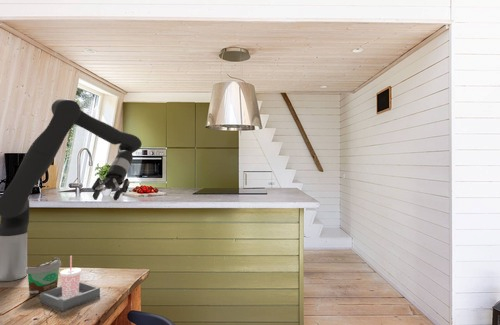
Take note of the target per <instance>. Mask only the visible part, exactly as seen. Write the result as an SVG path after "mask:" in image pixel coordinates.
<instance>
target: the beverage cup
mask: <svg viewBox="0 0 500 325" xmlns="http://www.w3.org/2000/svg"><path fill="white" fill-rule="evenodd" d="M72 263H73V255H70V256H69V268H65V269H63V270H60V271H59V273H60V274H59V275H60V277H61V278H60V279H61V286H62V299H63V300H66V299H69V298H72V297H74V296H77V295H78V294H79V282H80V281H81V280H80V279H81V274H82V268H80V267H73V264H72Z"/></svg>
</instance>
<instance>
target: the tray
mask: <svg viewBox="0 0 500 325" xmlns="http://www.w3.org/2000/svg"><path fill="white" fill-rule="evenodd" d="M100 297H101V287H99V286H96V285H92V284H91V283H86V282H83V281H81V280H80V282H79V294H78V295H77V296H74V297H72V298H69V299H66V300H63V299H62V285H60V286H57V288H54V289H51V290H48V291H45V292H42V293H40V295H39V302H40V303H41V304H44V305H46V306H48V307H51V308H53V309H55V310H58V311H61V312H65V311H67V310H70V309H72V308H75V307H78V306H80V305H83V304H85V303H87V302H88V303H89V301H92V300H94V299H95V300H96V299H98V298H100Z"/></svg>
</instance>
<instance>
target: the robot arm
mask: <svg viewBox="0 0 500 325" xmlns="http://www.w3.org/2000/svg"><path fill="white" fill-rule="evenodd" d="M51 112H52V113H51V114H52V117H51V119H50V121H49V122H48V125H47V126H46V128H44V130H43V131H42V132H41V133H40V135H38V136H37V138H36V139H35V140H34V141H32V144H31V145H30V147H28V150H27V151H26V154H25V155H24V157H23V159H22V160H21V163H20V165H19V167H17V170H16V173H15V175H14V177H13V179H12V180H11V182H10V183H9V185H8V186H7V188H6V189H5V190H4V192H3V193H2V194H1V196H0V282H11V281H12V282H13V281H16V280H20V279H23V278H25V277H26V276H28V274H26V271H27V267H28V228H29V223H30V200H29V197H30V194H31V192H32V191H33V189H34V187H35V186H36V184H37V183H38V182H39V181H40V179H41V178H42V177H43V176H44V175H45V174H46V172H47V171H48V170H49V168H50V166H52V165H51V164H52V163H53V162H54V159H55V158H56V156H57V154H58V152H59V151H60V148H61V146H62V144H63V142H64V140H65V138H66V136H67V135H68V133H69V131H70V130H71V129H72V128H73V126H74V125H76V126H78V127H80V128H82V129H84V130H86V131H87V132H90V133H91V134H93V135H95V136H96V137H98V138H100V139H102V140H104V141H105V142H107V143H110V144H111V145H115V146H116V145H119V146H118V150H117V154H116V156H115V158H114V160H112V163H111V164H110V167H109V168H108V170H107V173H106V175H105V177H104V178H103V179H101V178H100V177H97V179H96V180H95V181H94V183H93V185H92V186H91V189H92V191H93V194H92V198H93V200H94V201H97V200H98V198H99V196H100V194H101V193H102V192H105V191H106V190H110V189H111V190H115V189H116V190H115V193H114V194H113V198H112V199H113V200H114V201H115V202H116V201H117V200H119V198H120V196H121V194H122V193H127V192H128V189H129V186H130V180H129V179H128V178H126V176H127V174H128V172H129V170H130V166H131V164H132V163H133V162H132V161H133V158H134V156H133V155H134V154H133V153H135V152H137V151H138V150H139V149H141V147H142V140H141V139H140V138H139V137H137V135H135V134H132V133H130V132H129V133H128V132H125V131H122V130H119V129H118V128H116V127H114V126H112V125H110V124H108V123H106V122H105V121H102V120H99V119H97V118H95V117H93V116H91V115H90V114H88V113H86V112H84V111H83V110H81V106H80V105H79V103H78V102H77V101H75V100H73V99H68V98H60V99H56V100H55V101H53V103H52V105H51ZM121 185H122V186H121ZM120 186H121V187H120Z"/></svg>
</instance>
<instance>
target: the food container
mask: <svg viewBox="0 0 500 325" xmlns="http://www.w3.org/2000/svg"><path fill="white" fill-rule="evenodd" d="M61 267H62V262H61V260H60V258H59V257H56V256H54V257H53V259H52V260H49V261H48V262H46V261H45V262H42V263H40V264H38V265H37V266H35V267H32V266H27V271H26V274H27V279H28V280H27V281H28V291H29V296H33V297H34V296H40V293H42V292H45V291H48V290H51V289H54V288H57V287H58V281H59V275H60V274H59V273H60V268H61Z"/></svg>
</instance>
